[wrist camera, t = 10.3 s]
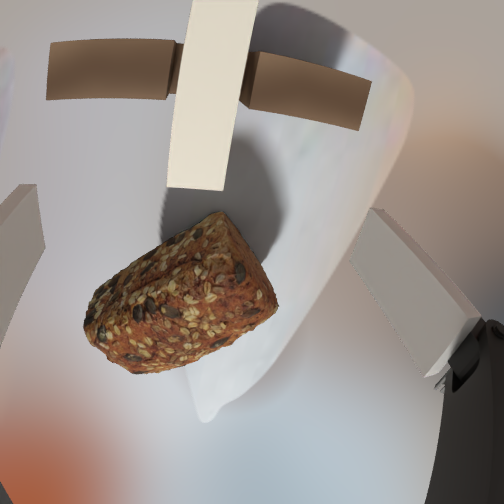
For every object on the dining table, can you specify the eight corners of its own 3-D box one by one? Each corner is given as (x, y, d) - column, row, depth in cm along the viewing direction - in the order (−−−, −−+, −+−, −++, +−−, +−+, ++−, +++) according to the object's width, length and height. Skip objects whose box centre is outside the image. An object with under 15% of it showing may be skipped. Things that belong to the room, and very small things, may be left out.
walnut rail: (85, 44, 20) (50, 42, 14) (328, 72, 26) (371, 81, 19) (81, 86, 22) (46, 100, 16) (318, 110, 28) (358, 131, 22)
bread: (221, 199, 32) (235, 258, 24) (268, 268, 38) (291, 332, 30) (89, 284, 34) (71, 350, 26) (145, 334, 41) (143, 397, 33)
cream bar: (198, -15, 19) (202, -41, 13) (244, -9, 20) (266, -31, 14) (170, 153, 28) (166, 186, 21) (213, 156, 29) (222, 190, 22)
